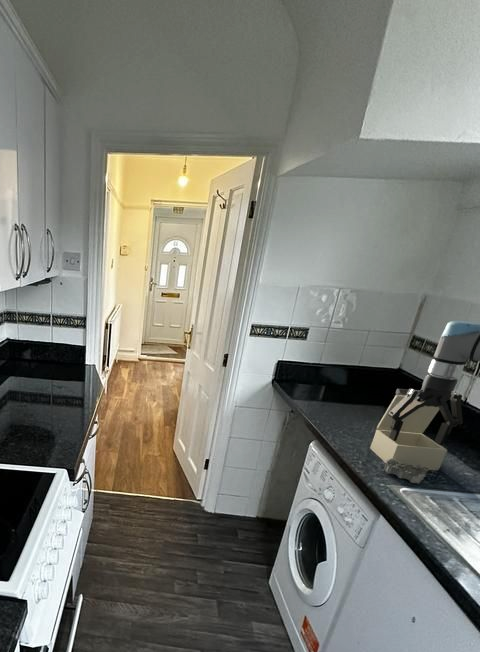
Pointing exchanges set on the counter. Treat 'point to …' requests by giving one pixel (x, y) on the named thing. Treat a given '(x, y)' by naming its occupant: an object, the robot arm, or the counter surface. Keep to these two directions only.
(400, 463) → the egg carton
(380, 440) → the beige open box
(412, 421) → the box lid
